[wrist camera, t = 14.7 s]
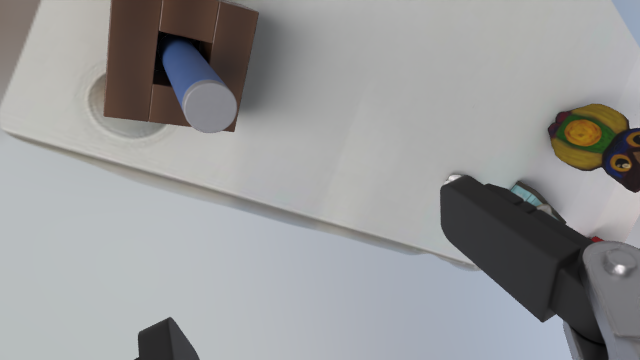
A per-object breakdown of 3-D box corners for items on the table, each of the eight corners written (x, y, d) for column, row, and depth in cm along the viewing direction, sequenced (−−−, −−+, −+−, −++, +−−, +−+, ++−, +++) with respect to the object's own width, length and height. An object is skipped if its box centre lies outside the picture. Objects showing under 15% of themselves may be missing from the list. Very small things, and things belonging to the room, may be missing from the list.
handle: (155, 64, 34) (180, 130, 22) (159, 29, 33) (188, 78, 21) (190, 71, 36) (232, 136, 23) (195, 37, 35) (242, 88, 22)
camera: (595, 240, 68) (557, 283, 70) (548, 212, 76) (514, 251, 78) (567, 208, 59) (522, 258, 60) (516, 179, 66) (477, 224, 68)
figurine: (568, 90, 61) (676, 124, 49) (586, 105, 65) (690, 141, 53) (530, 145, 63) (625, 190, 52) (550, 156, 67) (642, 201, 56)
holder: (104, 97, 34) (103, 116, 30) (113, -33, 30) (113, -30, 26) (222, 114, 39) (234, 132, 35) (243, 5, 35) (259, 12, 31)
